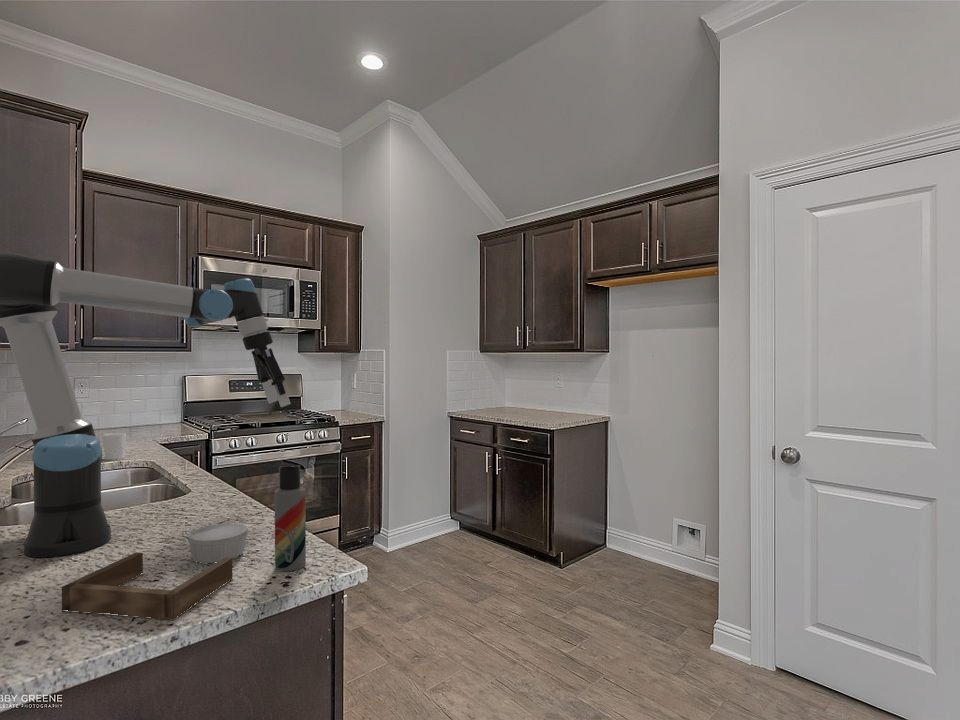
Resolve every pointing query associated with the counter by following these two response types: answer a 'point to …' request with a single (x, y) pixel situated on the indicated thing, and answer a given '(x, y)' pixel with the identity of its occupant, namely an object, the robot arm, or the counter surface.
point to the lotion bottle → (290, 520)
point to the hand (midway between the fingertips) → (279, 403)
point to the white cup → (114, 446)
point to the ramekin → (217, 542)
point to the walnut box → (140, 590)
